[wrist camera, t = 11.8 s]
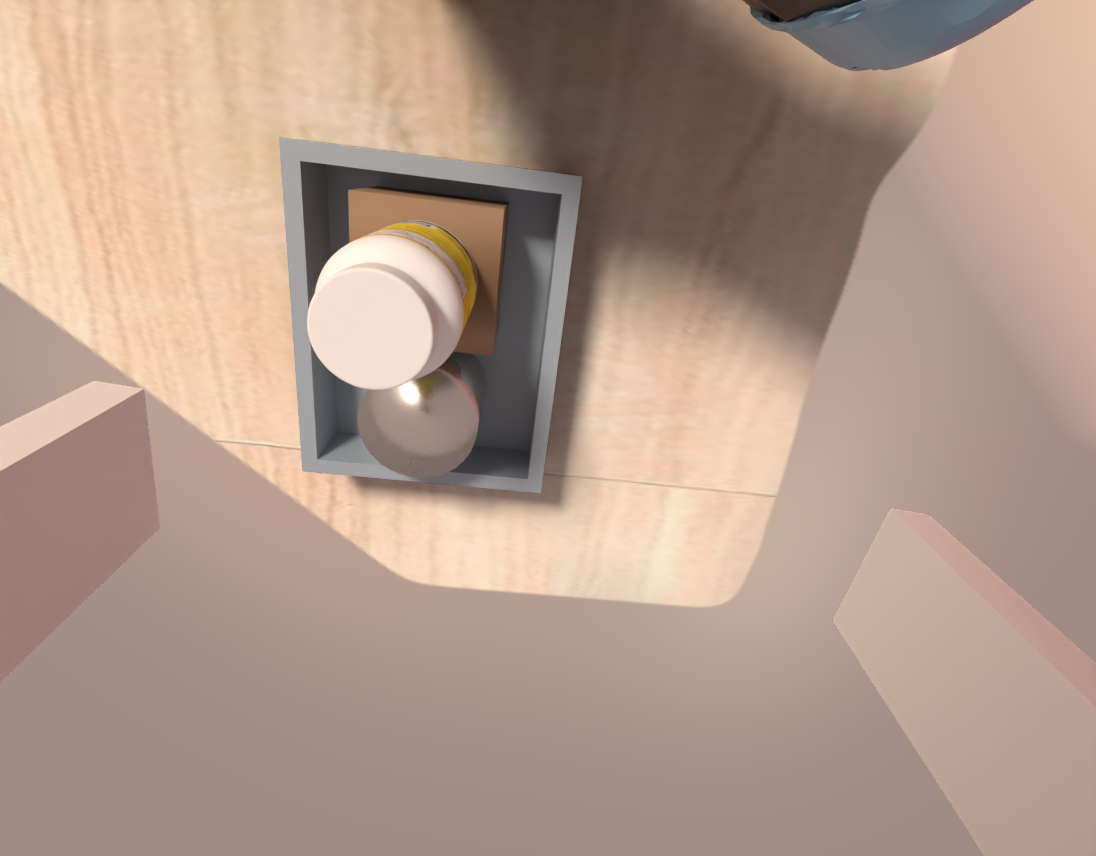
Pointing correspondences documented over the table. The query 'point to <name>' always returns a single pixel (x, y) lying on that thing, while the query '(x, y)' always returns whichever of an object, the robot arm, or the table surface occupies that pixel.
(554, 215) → the crate
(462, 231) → the walnut block
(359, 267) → the pill bottle
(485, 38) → the table surface
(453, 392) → the metal tin
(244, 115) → the table surface
